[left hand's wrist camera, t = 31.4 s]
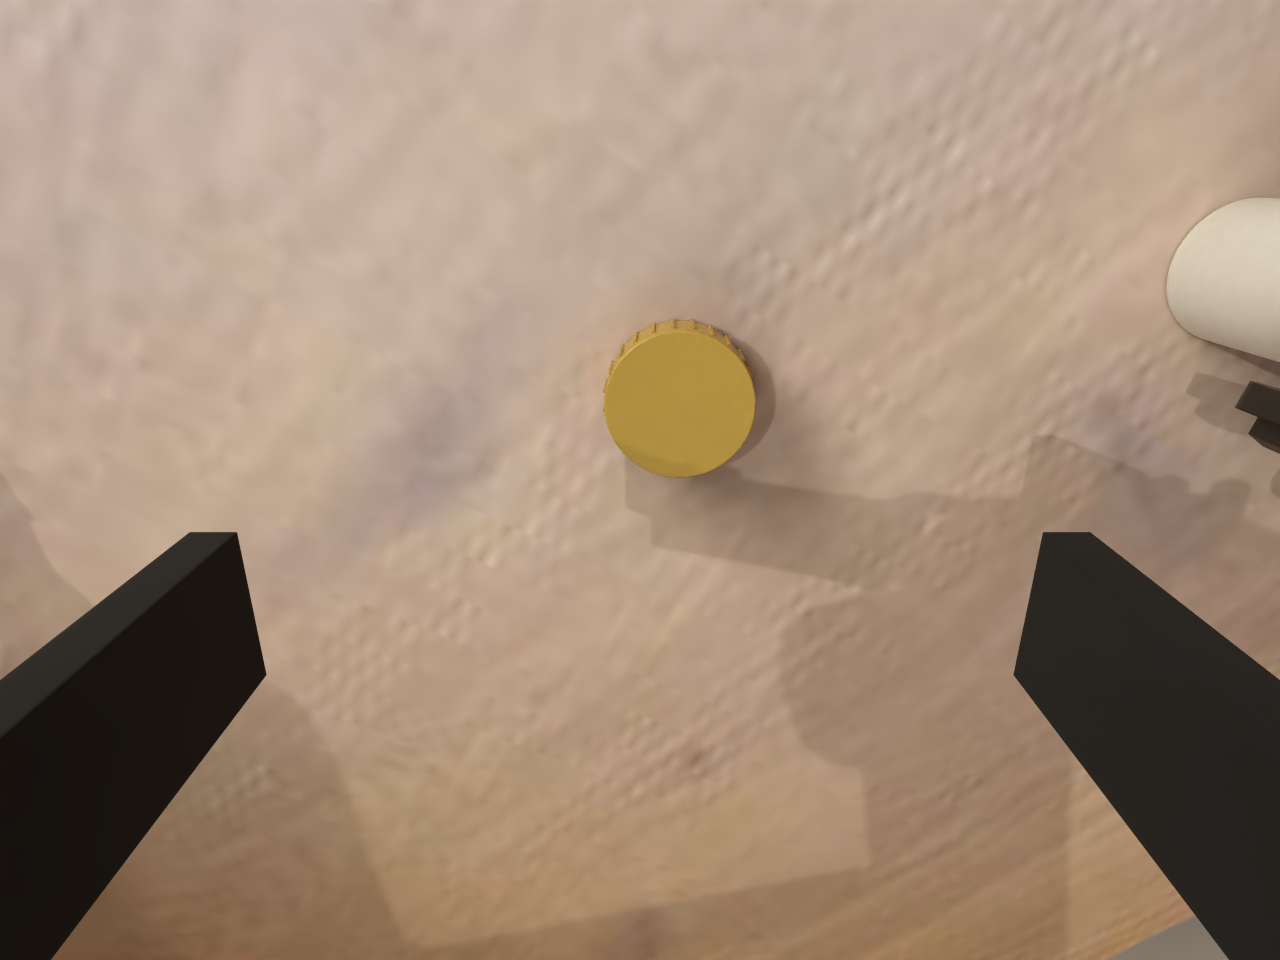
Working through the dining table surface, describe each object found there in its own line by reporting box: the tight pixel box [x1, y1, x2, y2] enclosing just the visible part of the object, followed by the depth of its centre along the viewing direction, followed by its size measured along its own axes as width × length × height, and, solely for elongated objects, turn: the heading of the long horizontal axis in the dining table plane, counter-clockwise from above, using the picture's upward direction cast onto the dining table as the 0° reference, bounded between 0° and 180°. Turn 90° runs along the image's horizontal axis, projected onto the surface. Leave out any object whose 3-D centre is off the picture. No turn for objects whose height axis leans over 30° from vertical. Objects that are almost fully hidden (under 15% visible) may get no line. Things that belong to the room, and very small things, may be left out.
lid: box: [603, 318, 757, 477], centre depth 24 cm, size 5×5×2 cm
